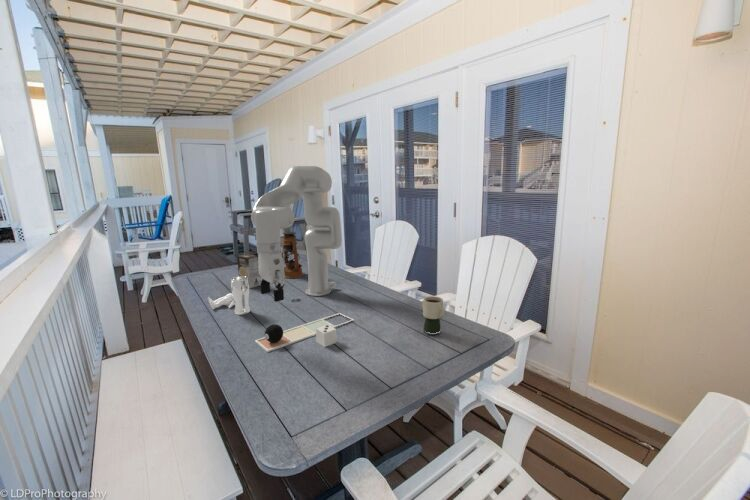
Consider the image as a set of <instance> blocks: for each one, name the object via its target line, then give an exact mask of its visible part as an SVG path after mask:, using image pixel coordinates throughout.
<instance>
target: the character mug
mask: <svg viewBox="0 0 750 500" xmlns="http://www.w3.org/2000/svg"><path fill="white" fill-rule="evenodd" d="M421 308H422V315H423V317H424V318H425V319H424V320H425V321H424V324H423V330H425V331H426V332H430V333H436V332H439V331H440V329H441V318H445V316H446V314H445V313H446V309H445V308H444V299H443V298H442V297H439V296H433V295H432V296H431V295H429V296H425V297H424V298H423V300H422V301H421Z"/></svg>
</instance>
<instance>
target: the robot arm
mask: <svg viewBox="0 0 750 500" xmlns="http://www.w3.org/2000/svg"><path fill="white" fill-rule="evenodd" d="M332 184H333V182H332V177H331V175H330V174H329V173H328V171H327V170H325V169H323V168H322V167H319V166H316V165H297V166H292V167H290V168H289V169H288V171H287V172H286V173H285V176H284V178H283V179H282V182H281V183H280V184H279V186H277V187H275V188H274V189H271V190H270V191H268V192H266V193H265V194H262V196H260V197H259V198H258V199H257V201H256V202H255V205H254V206H253V208H252V211H251V214H250V215H251V216H250V219H251V223H252V225H253V226H254V228H255V241H256V242H255V243H256V253H257V254H258V255H257V256H258V271H259V286H260V293H261V295H265V294H270V293H271V284H272V286H273V288H274V289H273V301H274V302H279V301H284V300H285V296H284V295H285V293H284V291H285V290H284V288H285V281H286V278H285V274H284V267H285V266H284V265H285V264H284V258H283V259H282V252H281V251H282V247H281V230H285V229H286V230H287V229H290V228H291V227H292V226H293V224H294V222H295V219H296V218H295V217H296V216H295V213H294V211H293V209H291V208H289V207H288V206H291V205H293V204H295V203H297V202H298V201H300V199H301V198H302V201H303V208H304V209H303V210H304V216H305V217H304V219H305V223H306V225H307V226H308V227H311V228H310V229H308V230H307V231H305V233H304V237H303V238H304V243H305V244H304V245H305V248H306V255H307V256H306V257H307V260H306V261H307V277H308V278H307V279H308V281H307V282H308V283H307V284H308V285H307V286H308V287H307V288H306V289H305V294H306V295H308V296H310V297H314V296H315V297H321V296H326V295H329V294H331V293H332V288H331V287H333V286H337V282H336V281H329V276H328V275H329V274H328V272H329V270H328V269H329V267H328V257H327V256H328V255H327V254H326V252H325V251H324V250H326V249H327V250H337V249H340V248H341V246H342V242H343V241H342V227H341V226H342V225H341V217H340V216H341V215H340V212H339V210H338V209H337V208H336V207H333V206H324V205H323V196H322V194H323V193H328V192H329V191H330V190H331V188H332V186H333V185H332ZM321 193H322V194H321ZM330 292H331V293H330Z"/></svg>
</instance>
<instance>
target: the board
mask: <svg viewBox="0 0 750 500" xmlns="http://www.w3.org/2000/svg"><path fill="white" fill-rule="evenodd" d="M339 314H340V315H339ZM336 315H338V316H341V315H342V316H341V317H343V316H344V317H343V318H345V317H347V318H349V319H351V320H349V319H348V321H344V322H342V323H340V324H336V325H334V324H332V323H331V322H329V321H327V320H329V319H331V318H330V317H332V318H334V317H333V316H335V317H337V316H336ZM328 318H329V319H328ZM347 318H346V319H347ZM325 319H326V320H325ZM353 320H354V321H355V319H354V318H352V317H349V316H348V315H345V314H343V313H341V312H339V313H335V314H332V315H329V316H325V317H322V318H319V319H316V320H313V321H310V322H306V323H304V324H300V325H299V326H294V327H292V328H289V329H286V330H283V337H282V338H281V340H280V341H278V342H275V343H272V342H269V341H268V340H267V339H266V338H265V336H264V337H261V338H258V339H255V340H254V343H255V344H256V345H258V346H259V347H260V348H261V349H263V350H264V351H265V352H266V353H269V352H273V351H275V350H278V349H280V348H283V347H286V346H289V345H292V344H294V343H295V344H296V343H298V342H300V341H303V340H305V339H309V338H312V337H314V336H316V328H319V327H322V326H325V325H330V326H332V327H333V328H335V329H337V328H339V327H342V326H344V325H343V324H345V325H347V324H346V323H348V322H351V321H353ZM354 321H353V322H354ZM351 323H352V322H351ZM348 324H349V323H348ZM341 325H342V326H341ZM338 326H339V327H338ZM336 327H337V328H336Z"/></svg>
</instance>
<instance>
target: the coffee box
mask: <svg viewBox="0 0 750 500" xmlns="http://www.w3.org/2000/svg"><path fill="white" fill-rule="evenodd" d="M236 258H237V271H238V276H247V277H248V281H249V289H252V288H256V287H258V286H260V277H259V271H258V268H259V264H258V255H254V254H250V253H243V254H239V255H237V256H236Z"/></svg>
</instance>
